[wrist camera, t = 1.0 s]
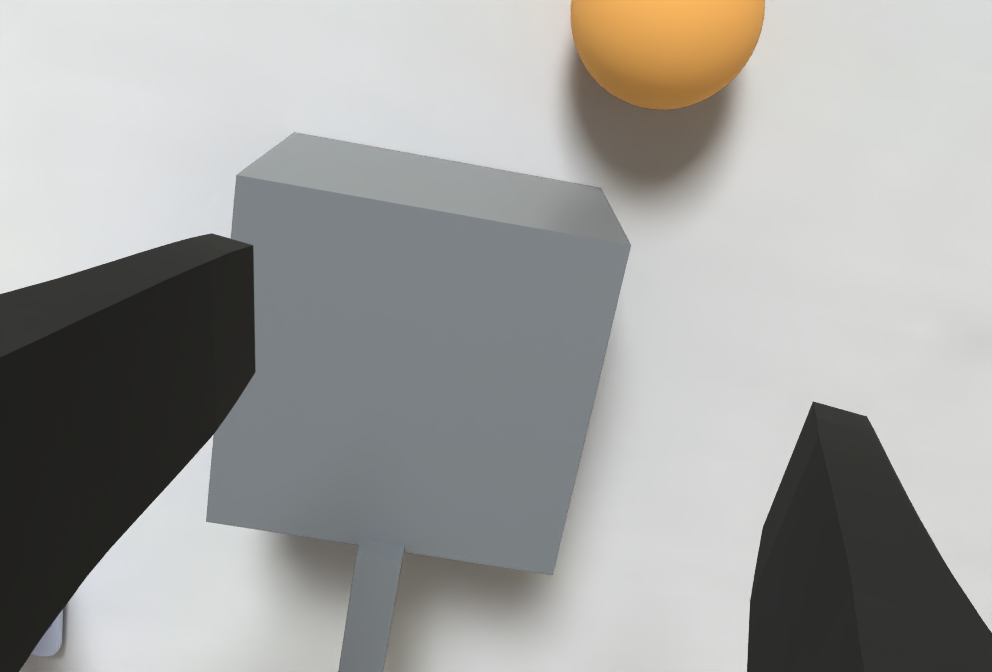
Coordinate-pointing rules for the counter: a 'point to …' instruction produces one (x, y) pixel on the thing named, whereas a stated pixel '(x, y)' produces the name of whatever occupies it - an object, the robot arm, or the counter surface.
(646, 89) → the ball
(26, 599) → the robot arm
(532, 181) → the grey blocky piece
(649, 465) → the counter surface
